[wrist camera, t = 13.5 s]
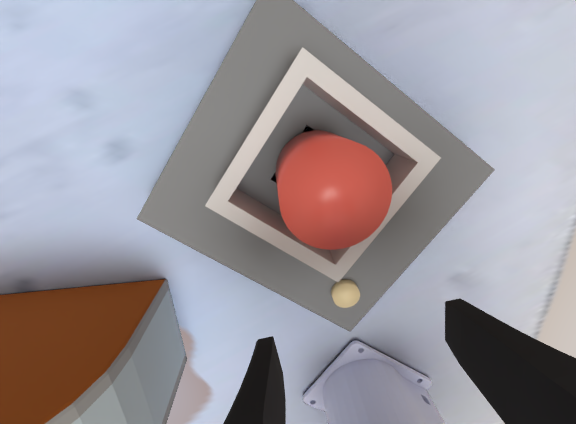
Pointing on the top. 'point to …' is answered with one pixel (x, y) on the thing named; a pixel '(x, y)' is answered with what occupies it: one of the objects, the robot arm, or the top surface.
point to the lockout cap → (331, 189)
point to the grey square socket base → (269, 143)
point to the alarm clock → (90, 355)
